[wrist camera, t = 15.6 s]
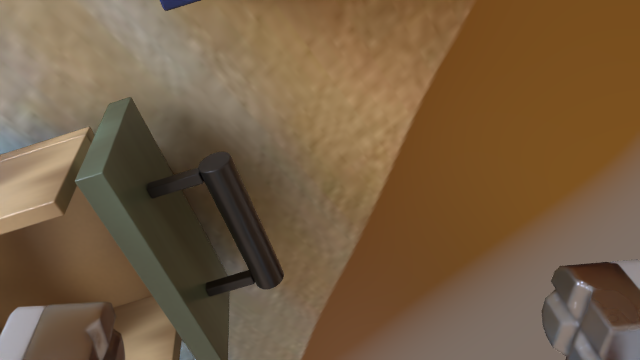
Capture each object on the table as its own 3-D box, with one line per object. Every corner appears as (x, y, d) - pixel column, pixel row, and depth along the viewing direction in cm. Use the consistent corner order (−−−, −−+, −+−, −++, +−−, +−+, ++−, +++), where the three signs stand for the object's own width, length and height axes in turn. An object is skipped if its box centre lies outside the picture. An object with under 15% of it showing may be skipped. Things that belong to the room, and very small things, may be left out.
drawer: (211, 70, 27) (203, 140, 21) (293, 260, 34) (303, 348, 29) (-136, 181, 28) (-231, 275, 22) (18, 341, 35) (-23, 441, 30)
